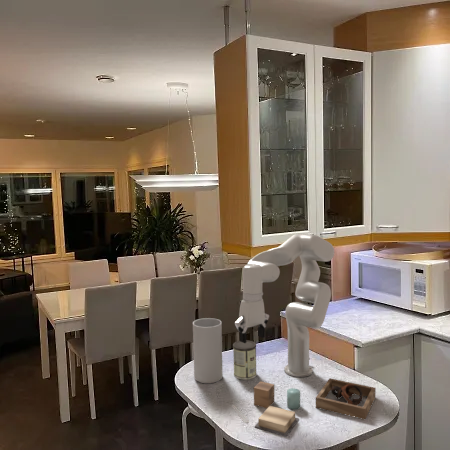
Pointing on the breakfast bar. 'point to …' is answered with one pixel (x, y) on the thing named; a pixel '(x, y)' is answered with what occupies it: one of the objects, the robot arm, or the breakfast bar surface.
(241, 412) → the butter knife
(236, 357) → the coffee can
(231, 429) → the breakfast bar surface
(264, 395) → the walnut block
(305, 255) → the robot arm
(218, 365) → the cylinder vase
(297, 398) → the teal capsule
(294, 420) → the plinth
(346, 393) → the pottery mug
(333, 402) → the mug tray
